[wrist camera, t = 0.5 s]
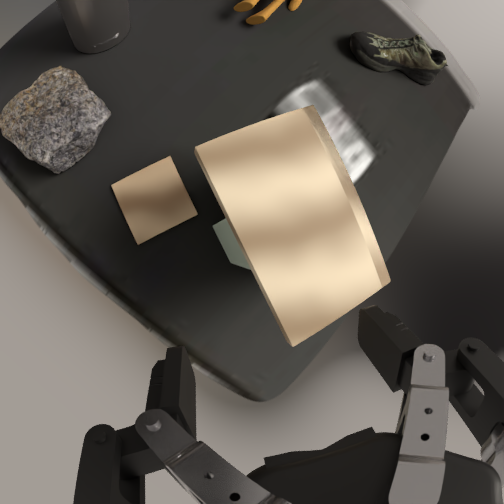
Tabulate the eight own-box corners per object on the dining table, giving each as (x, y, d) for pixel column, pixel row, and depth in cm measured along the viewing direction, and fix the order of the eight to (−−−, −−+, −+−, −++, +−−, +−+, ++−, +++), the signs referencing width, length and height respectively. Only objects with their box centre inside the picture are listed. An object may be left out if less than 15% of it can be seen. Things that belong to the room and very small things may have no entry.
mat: (111, 185, 33) (111, 185, 32) (170, 156, 34) (170, 156, 34) (138, 244, 34) (137, 244, 33) (197, 214, 35) (197, 214, 35)
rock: (123, 128, 33) (70, 69, 31) (115, 104, 27) (58, 44, 24) (51, 196, 31) (6, 127, 28) (30, 185, 24) (-14, 110, 22)
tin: (211, 225, 36) (227, 216, 24) (248, 207, 37) (281, 190, 25) (230, 264, 36) (255, 273, 25) (267, 244, 37) (306, 244, 26)
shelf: (186, 192, 35) (195, 147, 18) (255, 161, 37) (313, 104, 20) (241, 302, 37) (292, 346, 20) (305, 266, 39) (390, 281, 22)
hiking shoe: (338, 30, 40) (363, 2, 31) (420, 57, 45) (448, 39, 36) (348, 65, 41) (378, 38, 31) (431, 90, 46) (462, 74, 36)
